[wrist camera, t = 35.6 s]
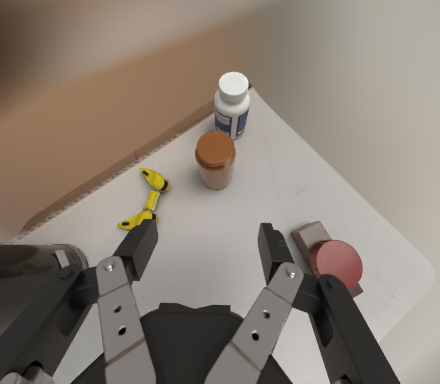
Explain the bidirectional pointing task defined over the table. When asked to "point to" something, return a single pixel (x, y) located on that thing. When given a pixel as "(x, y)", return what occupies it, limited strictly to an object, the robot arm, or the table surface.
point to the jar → (215, 159)
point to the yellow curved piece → (159, 185)
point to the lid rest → (309, 238)
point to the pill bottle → (232, 104)
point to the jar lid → (336, 261)
